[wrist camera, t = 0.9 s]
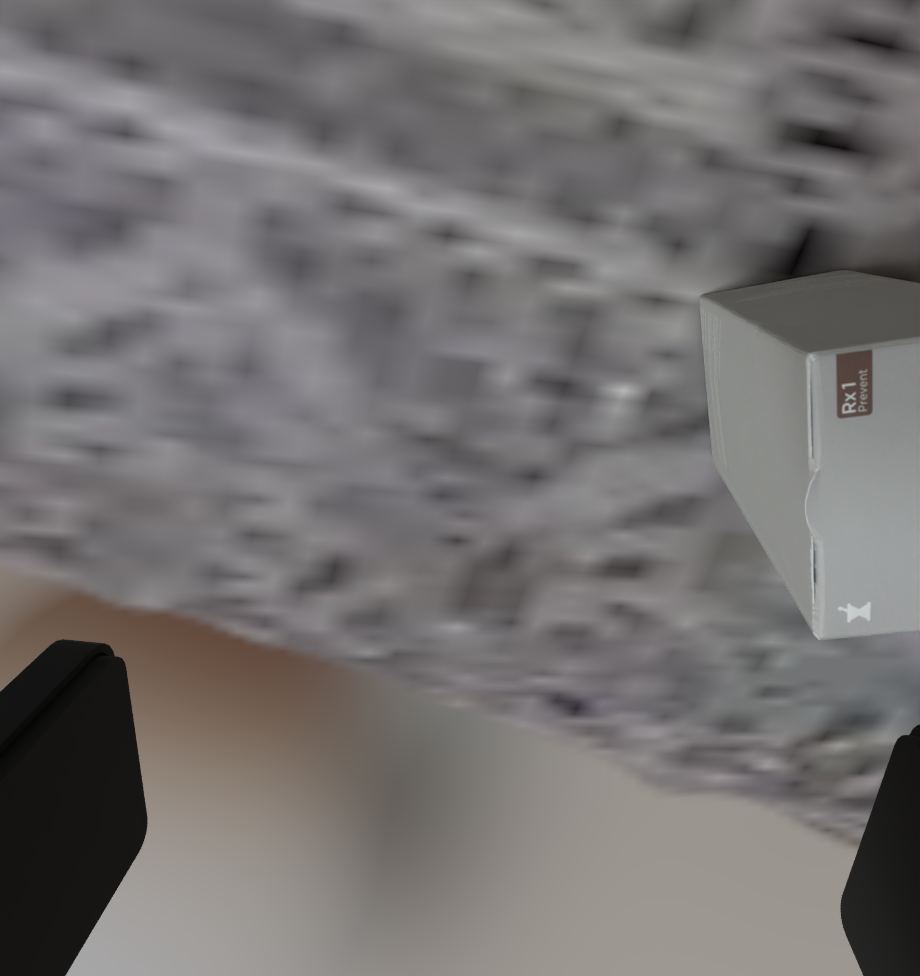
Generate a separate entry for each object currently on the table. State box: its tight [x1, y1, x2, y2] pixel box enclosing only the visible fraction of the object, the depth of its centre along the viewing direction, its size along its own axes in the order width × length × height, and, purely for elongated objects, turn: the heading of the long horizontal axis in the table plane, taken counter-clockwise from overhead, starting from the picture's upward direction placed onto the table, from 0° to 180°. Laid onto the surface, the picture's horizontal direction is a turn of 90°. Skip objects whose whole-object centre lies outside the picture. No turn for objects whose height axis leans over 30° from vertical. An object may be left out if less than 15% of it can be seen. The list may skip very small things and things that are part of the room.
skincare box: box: [699, 270, 920, 640], centre depth 25 cm, size 8×7×16 cm
